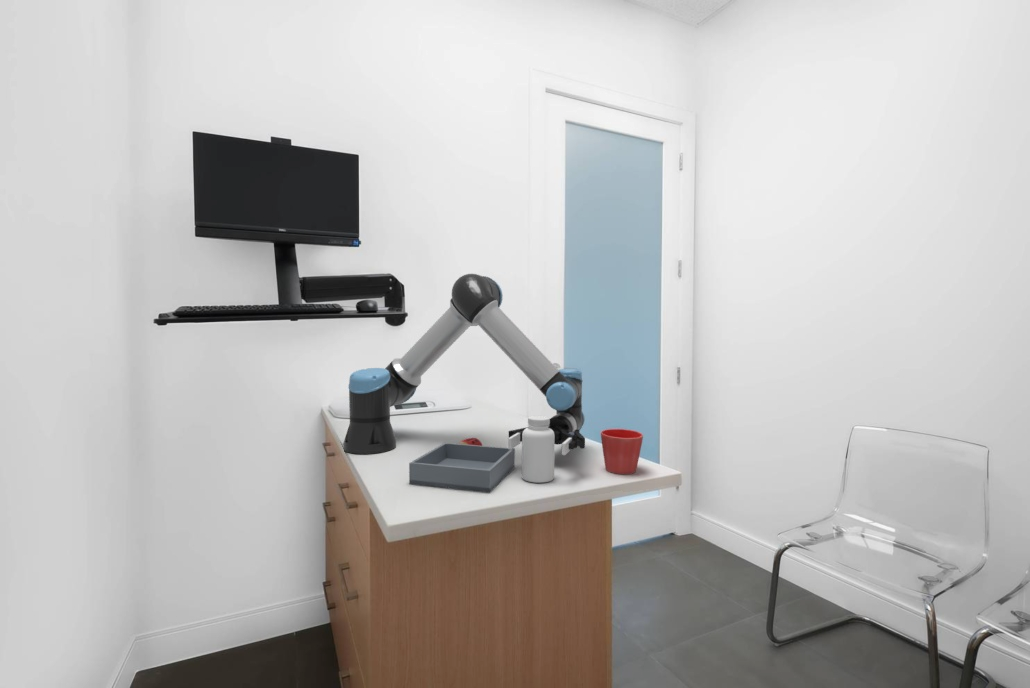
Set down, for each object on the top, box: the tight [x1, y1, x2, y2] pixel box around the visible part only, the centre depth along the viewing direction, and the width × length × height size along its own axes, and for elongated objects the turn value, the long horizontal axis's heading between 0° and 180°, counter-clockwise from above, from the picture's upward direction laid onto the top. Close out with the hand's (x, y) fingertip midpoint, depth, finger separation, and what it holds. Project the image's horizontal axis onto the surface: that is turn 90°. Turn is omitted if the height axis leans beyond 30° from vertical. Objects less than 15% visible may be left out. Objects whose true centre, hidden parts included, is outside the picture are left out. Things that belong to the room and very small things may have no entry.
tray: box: [408, 442, 516, 494], centre depth 124 cm, size 20×20×5 cm
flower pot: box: [600, 428, 644, 475], centre depth 129 cm, size 11×11×10 cm
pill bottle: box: [521, 415, 556, 484], centre depth 121 cm, size 8×8×15 cm
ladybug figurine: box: [458, 437, 483, 446], centre depth 147 cm, size 7×10×4 cm
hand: (535, 446), depth 119 cm, fingers open, 13 cm apart
